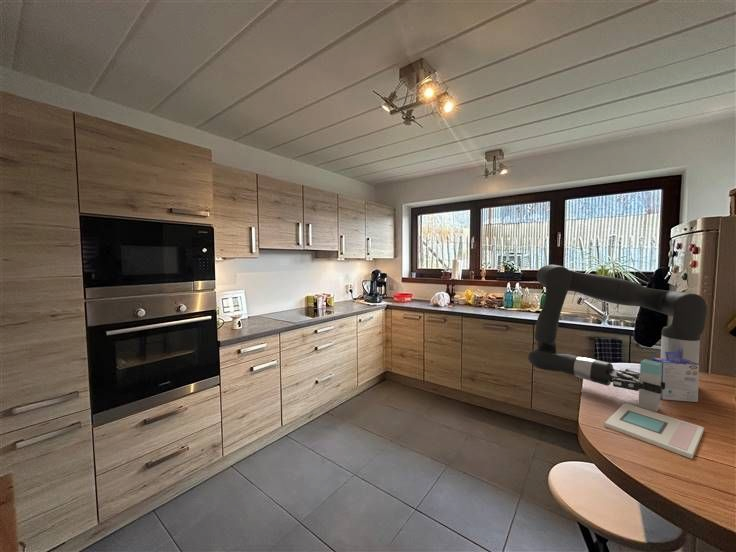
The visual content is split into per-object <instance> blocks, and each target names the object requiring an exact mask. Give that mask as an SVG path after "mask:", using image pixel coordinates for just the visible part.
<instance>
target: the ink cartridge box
mask: <svg viewBox="0 0 736 552" xmlns="http://www.w3.org/2000/svg"><path fill="white" fill-rule="evenodd" d="M665 354H666V358H667V359H666V358H661V357H652V358H651V361H656V362H661V363H662V375H661V381H662V382H665V389H664V390H662V393H661V394H660V400H667V401H678V402H679V401H680V402H693V403H694V402H695V403H697V402H699V401H698V400H699V381H700V380H699V379H700V373H699V372H700V364H697V363H694V362H692V361H689V360H686V359H681V358H680V356H679V354H678V353H677V352H665ZM670 354H674V355H677V357H669V356H668V355H670Z"/></svg>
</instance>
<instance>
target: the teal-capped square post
mask: <svg viewBox="0 0 736 552" xmlns="http://www.w3.org/2000/svg"><path fill="white" fill-rule="evenodd" d="M639 365H640V368H639V370H640V371H639V373H640V378H639V379H640V381H643V382H647V383H651V384H655V385H659V386H661V375H662V363H661V362H656V361H652V359H651V360H650V359H647V358H646V359H645V358H643V360H641V361H640V364H639ZM637 407H639V408H643V409H646V410H649V411H652V412H655V413H658V411H659V409H660V408H661V399H660V394H658V393H654V392H651V391H647V390H644V389H643V390H639V391H638V406H637Z"/></svg>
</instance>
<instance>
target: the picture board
mask: <svg viewBox="0 0 736 552" xmlns="http://www.w3.org/2000/svg"><path fill="white" fill-rule="evenodd" d="M604 427H605V428H606V427H607V428H609V429H611V430H614V431H617V432H619V433H622V434H625V435H627V436H629V437H633V438H635V439H637V440H640V441H643V442H646V443H649V444H652V445H653V446H655V447H656V446H657V447H659V448H662V449H664V450H667V451H670V452H672V453H675V454H678V455H680V456H683V457H686V458H688V459H693V457H694V455H695V453H696V451H697V449H698V446H699V443H700V441H701V439H702V436H703V433H704V432H705V427H704V426H700V425H697V424H694V423H692V422H691V423H690V422H687V421H684V420H681V419H678V418H675V417H672V416H668V415H665V414H661V413H658V412H654V411H651V410H648V409H644V408H641V407H638V406H636V405H633V404H629V403H625V402H624V403H623V404H622V405H621V406H620V407H619V408H618V409H617V410H616V411H615V412H614V413H613V414H612V415H611V416H610V417H609V418H608V419H606V421H605V422H604Z"/></svg>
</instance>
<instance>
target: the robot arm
mask: <svg viewBox="0 0 736 552" xmlns="http://www.w3.org/2000/svg"><path fill="white" fill-rule="evenodd" d="M536 279H537V282H539V284H540V285H541V286H542V287H544V288H545V298H544V302H543V305H542V308H541V309H540V312H539V315H538V316H537V320H536V325H535V331H534V339H535V341H537V346H536V347H537V348H534V349H532V350H531V351H530V352H529V353H528V357H527V358H528V361H529V363H530V364H531V365H532V366H534V367H536V368H537V369H541V370H544V371H551V372H559V373H564V374H567V375H571V376H574V377H578V378H579V379H582V380H585V381H589V382H593V383H597V384H601V385H604V386H610V385H611V384H612V386H613V387H615V388H620V389H624V390H631V391H636V392H639V390H643V389H644V390H647V391H651V392H654V393H658V394H661V393H662V390H664V389H665V382H662V381H661V386H659V385H655V384H651V383H647V382H643V381H640V372H638V371H635V370H631V369H628V368H625V369H614V366H613V364H612V363H611V362H607V361H605V360H604V361H603V360H599V359H595V358H590V357H583V356H578V355H573V354H570V353H557V343H556V340H557V334H558V328H559V322H560V317H561V314H562V309H563V306H564V303H565V300H566V297H567V295H568V292H569V291H572V292H575V293H579V294H582V295H584V296H587V297H590V298H592V299H596V300H599V301H602V302H606V303H610V304H616V305H620V306H629V307H640V308H644V309H649V310H651V311H655V312H658V313H661V314H664V315H666V316H669V317H672V321H671V324H670V325H668V326H663V328H662V329H661V341H660V343H661V345H660V358H666V354H665V352H677V353H678V354H679V356H680V358H681V359H686V360H689V361H692V362H694V363H697V364H699V362H700V361H699V359H700V345H701V344H700V343H701V336H702V334H703V333H704V331H705V328H706V319H707V311H708V306H707V301H706V300H705V299H704V297H702V296H701V295H700V294H697V293H692V292H685V291H677V290H676V291H675V290H664V289H656V288H650V287H646V286H643V285H641V284H639V283H636V282H633V281H630V280H627V279H624V278H618V277H614V276H609V275H602V274H595V273H585V272H584V273H583V272H577V271H574V270H570V269H568V268H566V267H565V266H563V265H558V264H547V265H544V266H542V267H540V268H539V269H538V270H537V273H536ZM668 356H669V357H677V355H674V354H670V355H668ZM666 359H667V358H666ZM699 365H700V364H699Z"/></svg>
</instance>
